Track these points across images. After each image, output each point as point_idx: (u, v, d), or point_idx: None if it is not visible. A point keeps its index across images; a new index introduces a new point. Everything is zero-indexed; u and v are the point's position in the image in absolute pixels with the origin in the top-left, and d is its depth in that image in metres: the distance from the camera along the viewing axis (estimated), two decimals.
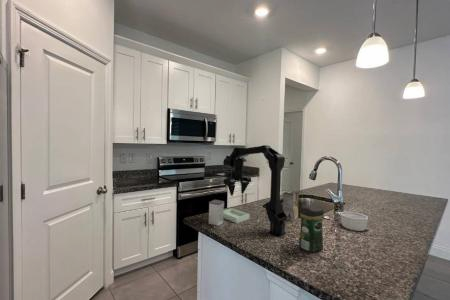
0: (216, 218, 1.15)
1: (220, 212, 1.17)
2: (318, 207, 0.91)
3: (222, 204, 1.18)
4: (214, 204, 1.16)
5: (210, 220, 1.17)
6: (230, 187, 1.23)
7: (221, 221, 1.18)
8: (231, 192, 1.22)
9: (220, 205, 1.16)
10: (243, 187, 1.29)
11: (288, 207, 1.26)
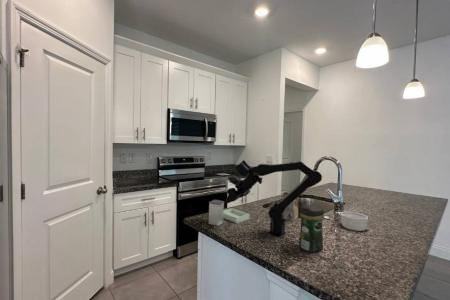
0: (216, 218, 1.15)
1: (220, 212, 1.17)
2: (318, 207, 0.91)
3: (222, 204, 1.18)
4: (214, 204, 1.16)
5: (210, 220, 1.17)
6: (230, 197, 1.09)
7: (221, 221, 1.18)
8: (227, 201, 1.10)
9: (220, 205, 1.16)
10: None
11: (288, 207, 1.26)
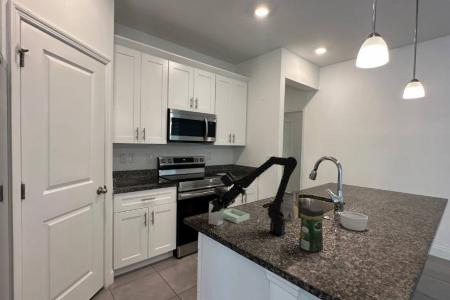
0: (215, 218, 1.15)
1: (220, 212, 1.17)
2: (318, 207, 0.91)
3: None
4: None
5: (210, 220, 1.17)
6: None
7: (221, 221, 1.18)
8: (213, 210, 1.15)
9: None
10: None
11: (288, 207, 1.26)
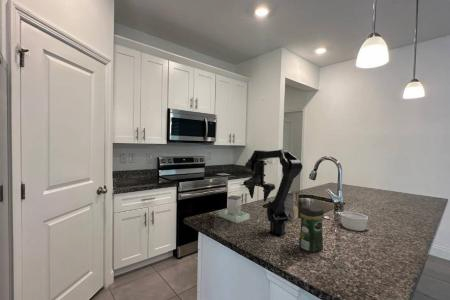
0: (234, 212, 1.25)
1: (238, 207, 1.26)
2: (318, 207, 0.91)
3: (239, 199, 1.28)
4: (232, 199, 1.25)
5: (229, 214, 1.26)
6: (266, 192, 1.17)
7: (238, 215, 1.27)
8: (266, 197, 1.17)
9: (238, 200, 1.26)
10: (252, 191, 1.25)
11: (288, 207, 1.26)
